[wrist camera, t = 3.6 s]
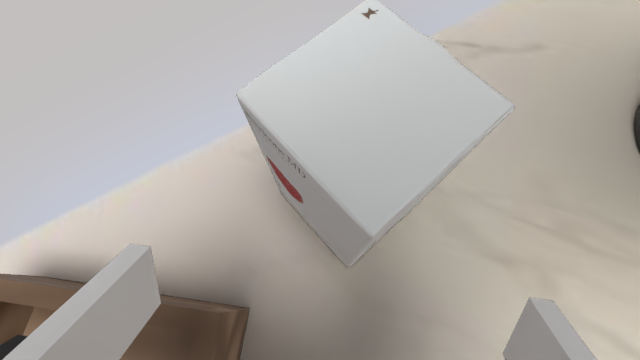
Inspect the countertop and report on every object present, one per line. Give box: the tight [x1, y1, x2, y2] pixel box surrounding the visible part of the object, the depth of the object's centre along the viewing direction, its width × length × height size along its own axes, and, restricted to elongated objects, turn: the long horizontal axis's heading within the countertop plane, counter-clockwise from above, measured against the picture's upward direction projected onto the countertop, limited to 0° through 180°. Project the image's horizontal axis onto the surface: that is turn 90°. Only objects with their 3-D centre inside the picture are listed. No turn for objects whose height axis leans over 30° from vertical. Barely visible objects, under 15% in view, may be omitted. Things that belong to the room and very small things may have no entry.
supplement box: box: [236, 0, 515, 267], centre depth 21 cm, size 9×9×15 cm
